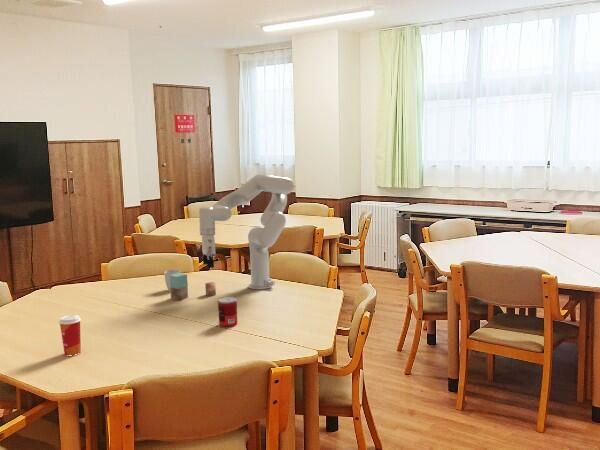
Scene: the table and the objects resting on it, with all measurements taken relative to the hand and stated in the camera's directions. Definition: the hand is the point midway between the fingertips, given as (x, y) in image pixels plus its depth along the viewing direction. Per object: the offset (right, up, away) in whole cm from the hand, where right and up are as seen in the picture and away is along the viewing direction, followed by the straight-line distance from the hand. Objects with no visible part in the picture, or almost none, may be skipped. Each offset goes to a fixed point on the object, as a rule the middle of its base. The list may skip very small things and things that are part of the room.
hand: (208, 265), depth 302 cm
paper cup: (-39, -28, -76) cm, 90 cm away
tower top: (-14, -10, -4) cm, 18 cm away
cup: (-20, -14, +14) cm, 28 cm away
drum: (+1, -15, +3) cm, 15 cm away
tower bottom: (-14, -16, -3) cm, 21 cm away
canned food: (+15, -22, -46) cm, 53 cm away
